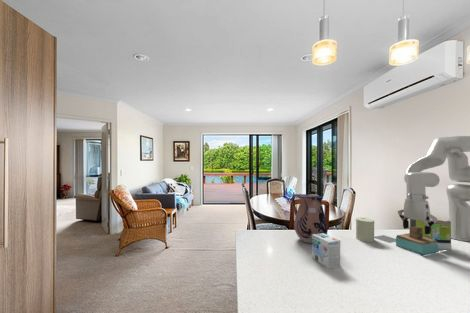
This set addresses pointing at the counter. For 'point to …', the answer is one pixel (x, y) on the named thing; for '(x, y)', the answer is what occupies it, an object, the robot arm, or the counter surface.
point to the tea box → (437, 232)
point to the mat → (385, 238)
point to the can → (365, 229)
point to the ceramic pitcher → (309, 216)
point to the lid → (416, 236)
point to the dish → (417, 246)
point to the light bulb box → (326, 250)
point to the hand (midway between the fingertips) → (416, 231)
